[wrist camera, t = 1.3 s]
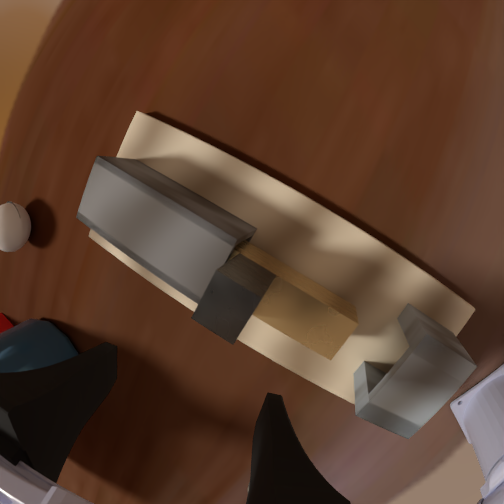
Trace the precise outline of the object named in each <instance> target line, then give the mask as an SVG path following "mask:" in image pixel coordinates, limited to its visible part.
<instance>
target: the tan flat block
mask: <svg viewBox="0 0 504 504" xmlns="http://www.w3.org/2000/svg"><path fill="white" fill-rule="evenodd" d="M252 315H253V316H255V317H257V318H258V319H260V320H262V321H263V322H265V323H267V324H268V325H270V326H272V327H273V328H275V329H277V330H278V331H280V332H282V333H283V334H285V335H287V336H289V337H290V338H292V339H294V340H295V341H297V342H299V343H301V344H302V345H304V346H306V347H308V348H309V349H311V350H313V351H315V352H316V353H318V354H320V355H322V356H323V357H325V358H327V359H329V360H332V358H333V357H334V356H335V355H336V353H337V352H338V351H339V350H340V348H341V347H342V346H343V344H344V343H345V342H346V341H347V339H348V338H349V337H350V335H351V334H352V333H353V331H354V330H355V329H356V327H357V326H358V325H359V323H358V317H357V312H356V306H354V305H352V304H351V303H349V302H348V301H346V300H344V299H343V298H341V297H339V296H338V295H336V294H334V293H333V292H331V291H329V290H328V289H326V288H324V287H323V286H321V285H319V284H318V283H316V282H314V281H313V280H311V279H309V278H308V277H306V276H304V275H303V274H301V273H299V272H298V271H296V270H294V269H293V268H291V267H289V266H288V265H286V264H284V263H283V262H281V261H279V260H278V259H276V258H274V257H273V256H271V255H269V254H268V253H266V252H264V251H263V250H261V249H259V248H258V247H256V246H254V245H253V244H251V243H249V242H248V241H246V240H244V241H242V242H241V243H239V244H237V245H236V246H235V248H234V250H233V252H232V254H231V255H230V257H229V259H228V261H227V262H226V263H225V264H224V265H222V266H221V267H219V268H218V269H217V270H216V271H215V273H214V275H213V277H212V279H211V281H210V282H209V284H208V286H207V288H206V290H205V292H204V294H203V296H202V298H201V300H200V302H199V304H198V306H197V308H196V310H195V312H194V314H193V316H192V319H193V320H195V321H197V322H198V323H200V324H201V325H203V326H204V327H206V328H207V329H209V330H210V331H212V332H214V333H215V334H217V335H218V336H220V337H222V338H223V339H225V340H226V341H228V342H230V343H231V344H234V343H235V341H236V340H237V338H238V336H239V335H240V333H241V332H242V330H243V329H244V327H245V326H246V324H247V323H248V321H249V320H250V318H251V316H252Z"/></svg>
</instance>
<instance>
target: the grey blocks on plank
mask: <svg viewBox="0 0 504 504" xmlns="http://www.w3.org/2000/svg"><path fill="white" fill-rule="evenodd" d="M77 218H78V219H79V220H80V221H82V222H83V223H84V224H86V225H87V226H88V227H89V228H91V230H90V233H89V237H90V238H92V239H93V240H94V241H96V242H97V243H98V244H99V245H101V246H102V247H103V248H105V249H106V250H107V251H109V252H110V253H111V254H113V255H114V256H115V257H117V258H118V259H119V260H121V261H122V262H123V263H125V264H126V265H127V266H129V267H130V268H132V269H133V270H134V271H136V272H137V273H138V274H140V275H141V276H143V277H144V278H145V279H147V280H148V281H150V282H151V283H153V284H154V285H155V286H157V287H158V288H160V289H161V290H163V291H164V292H165V293H167V294H168V295H170V296H171V297H173V298H174V299H176V300H177V301H179V302H180V303H182V304H183V305H185V306H186V307H188V308H189V309H191V310H192V311H194V312H195V310H196V308H197V306H198V304H199V302H200V300H201V298H202V296H203V294H204V292H205V290H206V288H207V286H208V284H209V282H210V281H211V279H212V277H213V275H214V273H215V271H216V270H217V269H218V268H219V267H221V266H222V265H224V264H225V263H226V262H227V261H228V259H229V257H230V255H231V254H232V252H233V250H234V248H235V246H236V245H237V244H239V243H241V242H242V241H244V240H246V241H248V242H249V243H251V244H253V245H254V246H256V247H258V248H259V249H261V250H263V251H264V252H266V253H268V254H269V255H271V256H273V257H274V258H276V259H278V260H279V261H281V262H283V263H284V264H286V265H288V266H289V267H291V268H293V269H294V270H296V271H298V272H299V273H301V274H303V275H304V276H306V277H308V278H309V279H311V280H313V281H314V282H316V283H318V284H319V285H321V286H323V287H324V288H326V289H328V290H329V291H331V292H333V293H334V294H336V295H338V296H339V297H341V298H343V299H344V300H346V301H348V302H349V303H351V304H352V305H354V306H356V312H357V317H358V323H359V325H358V326H357V327H356V329H355V330H354V331H353V333H352V334H351V335H350V337H349V338H348V339H347V341H346V342H345V343H344V344H343V346H342V347H341V348H340V350H339V351H338V352H337V353H336V355H335V356H334V357H333V358H332V360H329V359H327V358H325V357H323V356H322V355H320V354H318V353H316V352H315V351H313V350H311V349H309V348H308V347H306V346H304V345H302V344H301V343H299V342H297V341H295V340H294V339H292V338H290V337H289V336H287V335H285V334H283V333H282V332H280V331H278V330H277V329H275V328H273V327H272V326H270V325H268V324H267V323H265V322H263V321H262V320H260V319H258V318H257V317H255V316H253V315H252V316H251V318H250V320H249V321H248V323H247V324H246V326H245V327H244V329H243V330H242V332H241V333H240V335H239V336H238V338H237V339H238V340H240V341H241V342H243V343H244V344H246V345H248V346H249V347H251V348H253V349H254V350H256V351H258V352H259V353H261V354H263V355H265V356H266V357H268V358H270V359H271V360H273V361H275V362H277V363H278V364H280V365H282V366H284V367H285V368H287V369H289V370H291V371H293V372H294V373H296V374H298V375H300V376H302V377H303V378H305V379H307V380H309V381H311V382H313V383H314V384H316V385H318V386H320V387H322V388H324V389H326V390H328V391H329V392H331V393H333V394H335V395H337V396H339V397H341V398H343V399H345V400H347V401H349V402H351V403H353V404H355V413H356V416H358V417H360V418H362V419H364V420H366V421H369V422H371V423H373V424H375V425H377V426H379V427H382V428H384V429H386V430H388V431H391V432H393V433H395V434H398V435H400V436H402V437H405V438H407V439H409V438H410V437H411V436H412V435H413V434H415V433H416V432H417V431H418V430H419V429H420V428H421V427H422V426H423V425H424V424H425V423H426V422H427V421H428V420H429V419H430V418H431V417H432V416H433V415H434V414H435V413H436V412H437V411H438V410H439V409H440V408H441V407H442V406H443V405H444V404H445V403H446V402H447V401H448V400H449V399H450V398H451V396H452V395H453V394H454V393H455V392H456V391H457V390H458V389H459V388H460V386H461V385H462V384H463V383H464V382H465V381H466V379H467V378H468V377H469V376H470V375H471V373H472V372H473V371H474V370H475V369H476V367H477V366H476V364H475V363H474V361H473V360H472V358H471V357H470V355H469V354H468V353H467V351H466V350H465V348H464V347H463V346H462V344H461V343H460V341H459V340H458V339H457V337H456V336H457V335H458V334H459V332H460V331H461V330H462V328H463V327H464V325H465V324H466V323H467V321H468V320H469V318H470V317H471V315H472V314H473V312H474V311H475V308H474V307H473V306H472V305H471V304H469V303H468V302H467V301H465V300H464V299H463V298H461V297H460V296H459V295H457V294H456V293H455V292H453V291H452V290H450V289H449V288H448V287H446V286H445V285H444V284H442V283H441V282H439V281H438V280H437V279H435V278H434V277H432V276H431V275H430V274H428V273H427V272H425V271H424V270H422V269H421V268H419V267H418V266H417V265H415V264H414V263H412V262H411V261H409V260H408V259H406V258H405V257H403V256H402V255H400V254H399V253H397V252H396V251H394V250H393V249H391V248H390V247H388V246H387V245H385V244H384V243H382V242H381V241H379V240H377V239H376V238H374V237H373V236H371V235H370V234H368V233H367V232H365V231H363V230H362V229H360V228H359V227H357V226H355V225H354V224H352V223H351V222H349V221H347V220H346V219H344V218H342V217H341V216H339V215H338V214H336V213H334V212H333V211H331V210H329V209H328V208H326V207H324V206H322V205H321V204H319V203H317V202H316V201H314V200H312V199H311V198H309V197H307V196H305V195H304V194H302V193H300V192H298V191H297V190H295V189H293V188H291V187H290V186H288V185H286V184H284V183H282V182H281V181H279V180H277V179H275V178H273V177H272V176H270V175H268V174H266V173H264V172H262V171H261V170H259V169H257V168H255V167H253V166H251V165H249V164H248V163H246V162H244V161H242V160H240V159H238V158H236V157H234V156H232V155H230V154H228V153H226V152H224V151H222V150H220V149H218V148H216V147H215V146H213V145H211V144H208V143H206V142H204V141H202V140H200V139H198V138H196V137H194V136H192V135H190V134H188V133H186V132H184V131H182V130H180V129H177V128H175V127H173V126H171V125H169V124H167V123H165V122H162V121H160V120H158V119H156V118H154V117H151V116H149V115H147V114H145V113H142V112H139V111H137V112H136V114H135V116H134V118H133V120H132V122H131V125H130V127H129V129H128V131H127V133H126V136H125V138H124V140H123V143H122V145H121V147H120V150H119V152H118V154H117V157H106V156H97V157H96V160H95V163H94V165H93V168H92V171H91V174H90V176H89V179H88V182H87V185H86V188H85V191H84V194H83V197H82V200H81V203H80V207H79V210H78V213H77Z"/></svg>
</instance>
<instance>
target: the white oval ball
mask: <svg viewBox="0 0 504 504" xmlns="http://www.w3.org/2000/svg"><path fill="white" fill-rule="evenodd" d="M30 232H31V220H30V217H29V215H28V213H27V211H26V210H25V209H24V208H23V207H22V206H20V205H19V204H16V203H12V202H9V201H8V202H7V203H6V204H3V205H0V250H3V251H5V252H11V251H16V250H18V249H20V248H21V247H23V246H24V244H25V243H26V242H27V240H28V238H29V236H30Z"/></svg>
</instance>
